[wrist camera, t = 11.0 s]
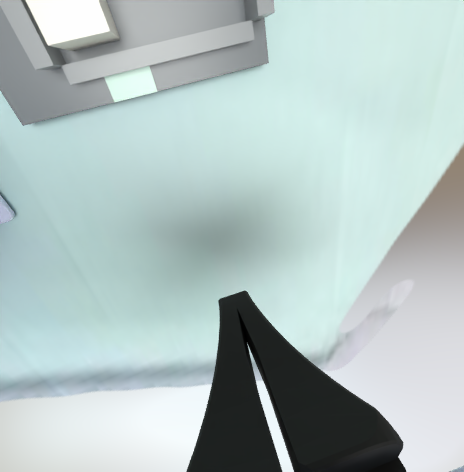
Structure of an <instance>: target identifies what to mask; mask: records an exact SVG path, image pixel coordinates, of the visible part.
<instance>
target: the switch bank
mask: <svg viewBox="0 0 464 472" xmlns="http://www.w3.org/2000/svg"><path fill="white" fill-rule="evenodd" d="M106 1H107V4H108V7H109V10H110V12H111V15H112V18H113V21H114V23H115V26H116V29H117V32H118V34H119V37H120V40H117V41H112V42H108V43H104V44H100V45H95V46H91V47H87V48H83V49H78V50H74V51H69V50H65V49H61V48H57V47H52V46H48V44H47V42H46V40H45V38H44V36H43V34H42V32H41V30H40V28H39V26H38V24H37V22H36V20H35V18H34V16H33V14H32V12H31V10H30V8H29V6H28V4H27V2H26V0H0V91H1V92H2V94H3V95H4V97H5V98H6V100H7V102H8V103H9V105H10V106H11V108H12V109H13V111H14V113H15V114H16V116H17V117H18V119H19V120H20V122H21V123H22V125H23V126H24V125H28V124H32V123H35V122H39V121H43V120H47V119H51V118H55V117H59V116H63V115H67V114H71V113H75V112H79V111H83V110H86V109H90V108H94V107H98V106H102V105H106V104H110V103H114V102H119V101H123V100H126V99H130V98H134V97H138V96H142V95H146V94H150V93H154V92H158V91H161V90H165V89H169V88H173V87H177V86H180V85H184V84H188V83H192V82H196V81H200V80H204V79H208V78H212V77H216V76H220V75H224V74H228V73H231V72H235V71H239V70H243V69H247V68H251V67H255V66H259V65H263V64H267V63H269V62H268V51H267V41H266V31H265V21H264V18H265V17H267V16H269V15H271V14H272V13H274V0H106Z"/></svg>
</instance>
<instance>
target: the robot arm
mask: <svg viewBox="0 0 464 472" xmlns="http://www.w3.org/2000/svg"><path fill="white" fill-rule="evenodd" d="M13 217H14V212H13V210H12V209H11V208H10V206H9V205H8V204H7V203H6V202H5V200H4V199H3V198H2V197H1V195H0V224H1V223H5V222H8V221H10V220H12V219H13ZM219 310H220V329H219V343H218V351H217V359H216V366H215V372H214V377H213V382H212V387H211V391H210V396H209V400H208V404H207V408H206V412H205V416H204V419H203V423H202V426H201V429H200V433H199V436H198V439H197V443H196V446H195V449H194V452H193V455H192V457H191V460H190V463H189V466H188V469H187V472H282V469H281V466H280V462H279V459H278V456H277V453H276V450H275V446H274V443H273V440H272V436H271V433H270V430H269V427H268V424H267V420H266V417H265V414H264V410H263V407H262V404H261V401H260V397H259V393H258V390H257V385H256V380H255V376H254V372H253V367H252V363H251V358H250V354H249V349H248V346H249V348H250V350H251V353H252V355H253V357H254V360H255V362H256V365H257V367H258V369H259V372H260V374H261V376H262V379H263V381H264V383H265V386H266V389H267V391H268V394H269V396H270V400H271V403H272V405H273V408H274V411H275V415H276V418H277V421H278V424H279V427H280V429H281V433H282V436H283V439H284V442H285V445H286V448H287V451H288V454H289V457H290V460H291V463H292V466H293V469H294V472H406V469H405V467H404V466H403V464H402V463H401V461H400V459H399V458H398V456H399V454H400V452H401V451H402V449H403V441H402V440H401V439H400V437H399V435H398V434H397V432H396V431H395V430H394V429H393V427H392V426H391V425H390V424H389V422H388V421H387V420H386V419H385V418H384V417H383V416H382V415H381V414H380V412H379V411H378V410H376V409H375V408H374V407H372V406H371V405H369V404H368V403H366V402H365V401H363V400H362V399H360V398H359V397H357V396H356V395H354V394H353V393H351V392H350V391H348V390H347V389H346V388H344V387H343V386H341V385H340V384H339V383H337V382H336V381H334V380H333V379H331V378H330V377H329V376H328V375H327V374H325V373H324V372H323V371H321V370H320V369H319V368H318V367H316V366H315V365H314V364H313V363H311V362H310V361H309V360H308V359H307V358H305V357H304V356H303V355H302V354H301V353H300V352H299V351H297V350H296V349H295V348H294V347H293V346H292V345H291V344H290V343H289V342H288V341H287V340H286V339H285V338H284V337H283V336H282V335H281V334H280V333H279V332H278V331H277V330H276V329H275V328H274V327H273V326H272V324H271V323H270V322H269V321H268V320H267V319H266V318H265V316H264V315H263V314H262V313H261V311H260V310H259V309H258V308H257V306H256V305H255V303H254V302H253V301H252V299H251V297H250V296H249V294H248V292H247V291H242V292H239V293H236V294H233V295H230V296H227V297H224V298H221V299H220V300H219ZM247 343H248V345H247ZM450 472H464V466H462V467H459V468H457V469H455V470H452V471H450Z"/></svg>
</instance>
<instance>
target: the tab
mask: <svg viewBox="0 0 464 472" xmlns="http://www.w3.org/2000/svg"><path fill="white" fill-rule="evenodd" d="M26 2H27V4H28V6H29V8H30V10H31V12H32V14H33V16H34V18H35V20H36V22H37V24H38V26H39V28H40V30H41V32H42V34H43V36H44V38H45V40H46V42H47V44H48V46H52V47H57V48H61V49H65V50H69V51H74V50H78V49H83V48H87V47H91V46H95V45H100V44H104V43H108V42H112V41H117V40H120V37H119V34H118V32H117V29H116V26H115V23H114V21H113V18H112V15H111V12H110V10H109V7H108V4H107V1H106V0H26Z"/></svg>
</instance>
